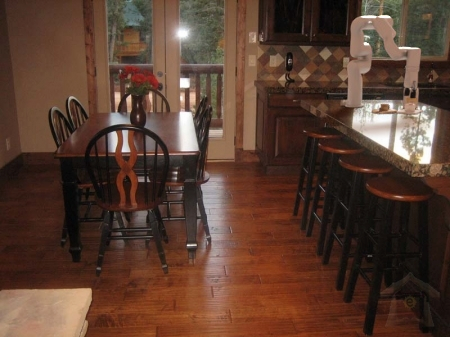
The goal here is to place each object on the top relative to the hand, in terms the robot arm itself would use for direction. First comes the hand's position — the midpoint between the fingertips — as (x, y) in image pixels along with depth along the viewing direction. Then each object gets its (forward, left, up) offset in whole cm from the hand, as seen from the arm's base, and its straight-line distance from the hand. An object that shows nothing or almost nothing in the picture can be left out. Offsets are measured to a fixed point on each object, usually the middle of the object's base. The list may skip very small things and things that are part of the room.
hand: (409, 97), depth 286 cm
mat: (+1, 0, -10) cm, 10 cm away
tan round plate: (-14, -5, -10) cm, 17 cm away
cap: (+1, 0, -9) cm, 9 cm away
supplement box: (-5, +16, -10) cm, 19 cm away
